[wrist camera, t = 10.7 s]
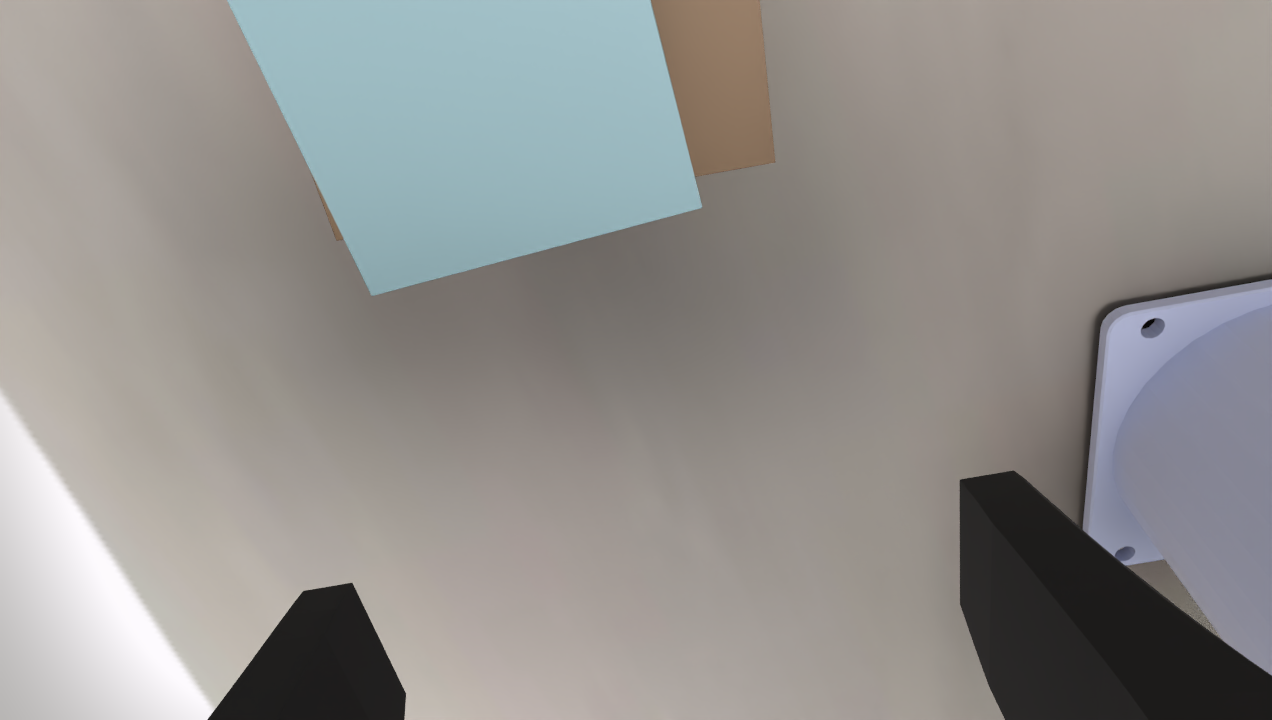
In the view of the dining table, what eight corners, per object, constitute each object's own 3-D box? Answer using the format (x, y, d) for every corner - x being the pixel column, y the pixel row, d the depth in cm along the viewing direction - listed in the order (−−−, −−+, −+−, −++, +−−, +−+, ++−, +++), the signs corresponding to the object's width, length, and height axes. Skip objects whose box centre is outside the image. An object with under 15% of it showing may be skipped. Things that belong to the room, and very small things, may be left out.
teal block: (596, -216, 14) (604, -183, 9) (665, 56, 16) (702, 207, 11) (335, -132, 14) (199, -56, 9) (436, 122, 16) (372, 296, 11)
